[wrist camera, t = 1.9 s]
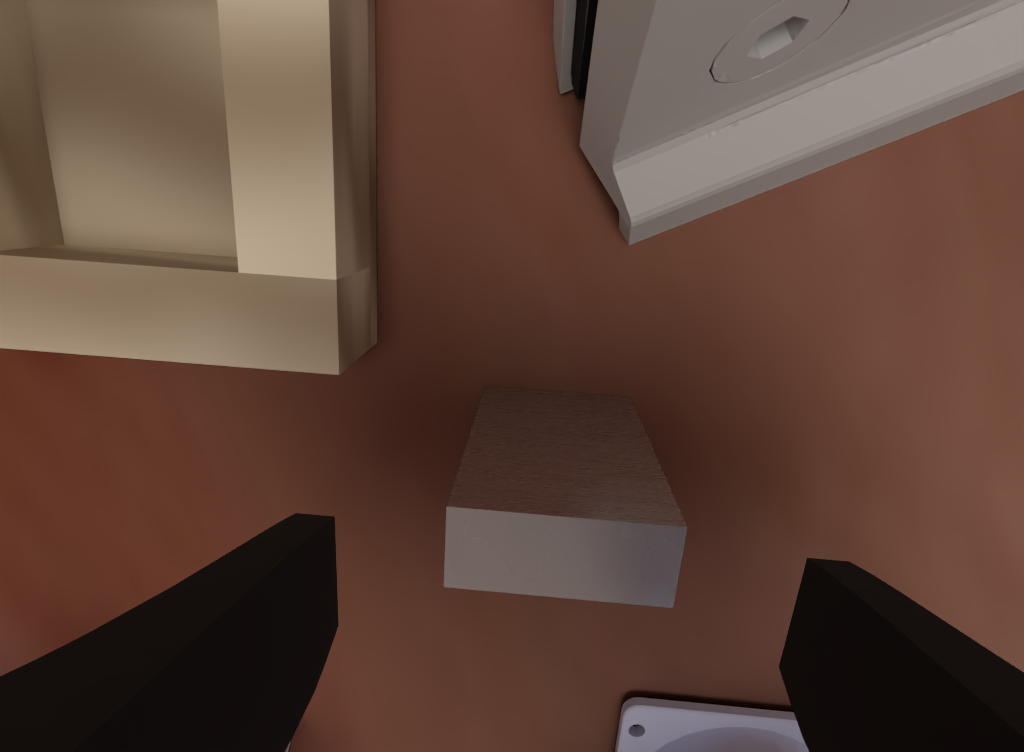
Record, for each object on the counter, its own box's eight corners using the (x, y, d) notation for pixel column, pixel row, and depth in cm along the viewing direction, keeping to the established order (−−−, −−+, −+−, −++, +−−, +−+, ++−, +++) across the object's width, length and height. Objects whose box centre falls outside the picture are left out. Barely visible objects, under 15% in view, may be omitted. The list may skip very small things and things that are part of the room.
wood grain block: (485, 385, 16) (446, 506, 9) (630, 396, 16) (687, 527, 9) (478, 512, 17) (439, 693, 11) (613, 524, 17) (653, 715, 11)
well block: (377, 342, 15) (338, 374, 13) (21, 314, 16) (-95, 340, 13) (374, -101, 12) (323, -190, 10) (-65, -123, 13) (-241, -216, 10)
